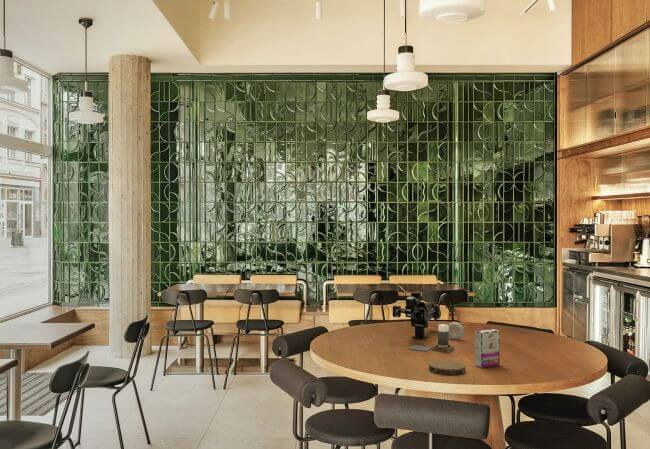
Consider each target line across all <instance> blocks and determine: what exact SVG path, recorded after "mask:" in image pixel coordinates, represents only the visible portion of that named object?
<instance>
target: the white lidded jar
mask: <svg viewBox="0 0 650 449" xmlns="http://www.w3.org/2000/svg"><path fill="white" fill-rule="evenodd" d="M437 326H438V328H437V344H438V347H443V348H448V345H450V342H449V341H450V340H449V339H450V337H449V331H448V329H449V324H447V323H446V324H445V323H441V324H440V323H439V324H438V325H437Z"/></svg>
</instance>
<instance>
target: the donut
mask: <svg viewBox="0 0 650 449" xmlns="http://www.w3.org/2000/svg"><path fill="white" fill-rule="evenodd" d="M448 325H449V329H448V331H449V339H451V340H459V339H461V338H462V337H463V336H464V334H465V333H464V332H465V331H464V330H465V329H464V327H463V326H462V324H461V323H460V322H457V321H452V322H449V324H448ZM453 329H456V330H457V333H455V332H453Z"/></svg>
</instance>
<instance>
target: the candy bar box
mask: <svg viewBox="0 0 650 449" xmlns="http://www.w3.org/2000/svg"><path fill="white" fill-rule="evenodd" d="M500 360H501V359H500V330H498V329H493V328H492V329H491V328H490V329H483V330H475V331H474V362H475V363H474V365H475V366H476V367H478V368H482V369H483V368H484V369H485V368H490V367H491V366H492V367H497V366H498V365H499V366H500ZM492 367H491V368H492Z"/></svg>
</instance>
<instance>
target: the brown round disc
mask: <svg viewBox="0 0 650 449" xmlns="http://www.w3.org/2000/svg"><path fill="white" fill-rule="evenodd" d="M428 364H429V365H428V370H429V372H431V373H434V374H436V375H442V376H461V375H464V374H465V373H466V364H464V363H462V362H459V361H455V360H454V361H453V360H446V359H445V360H442V359H441V360H433V361H431V362H429V363H428Z"/></svg>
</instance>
